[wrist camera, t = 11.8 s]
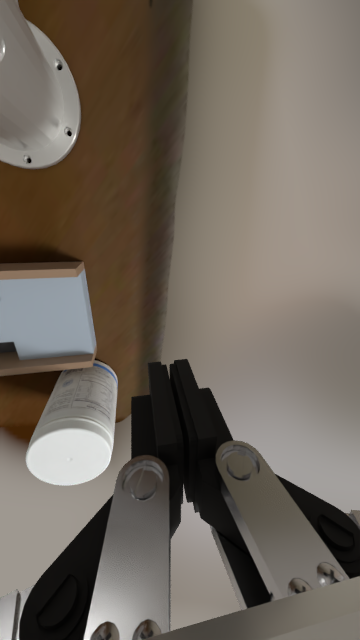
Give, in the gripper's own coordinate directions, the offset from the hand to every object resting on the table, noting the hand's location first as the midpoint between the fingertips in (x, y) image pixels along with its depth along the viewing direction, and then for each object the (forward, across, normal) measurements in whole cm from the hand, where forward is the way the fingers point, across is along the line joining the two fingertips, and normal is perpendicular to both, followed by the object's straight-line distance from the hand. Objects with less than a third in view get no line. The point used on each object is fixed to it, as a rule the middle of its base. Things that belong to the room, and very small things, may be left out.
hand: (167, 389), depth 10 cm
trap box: (+27, +20, +6) cm, 34 cm away
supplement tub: (+27, +10, +19) cm, 35 cm away
